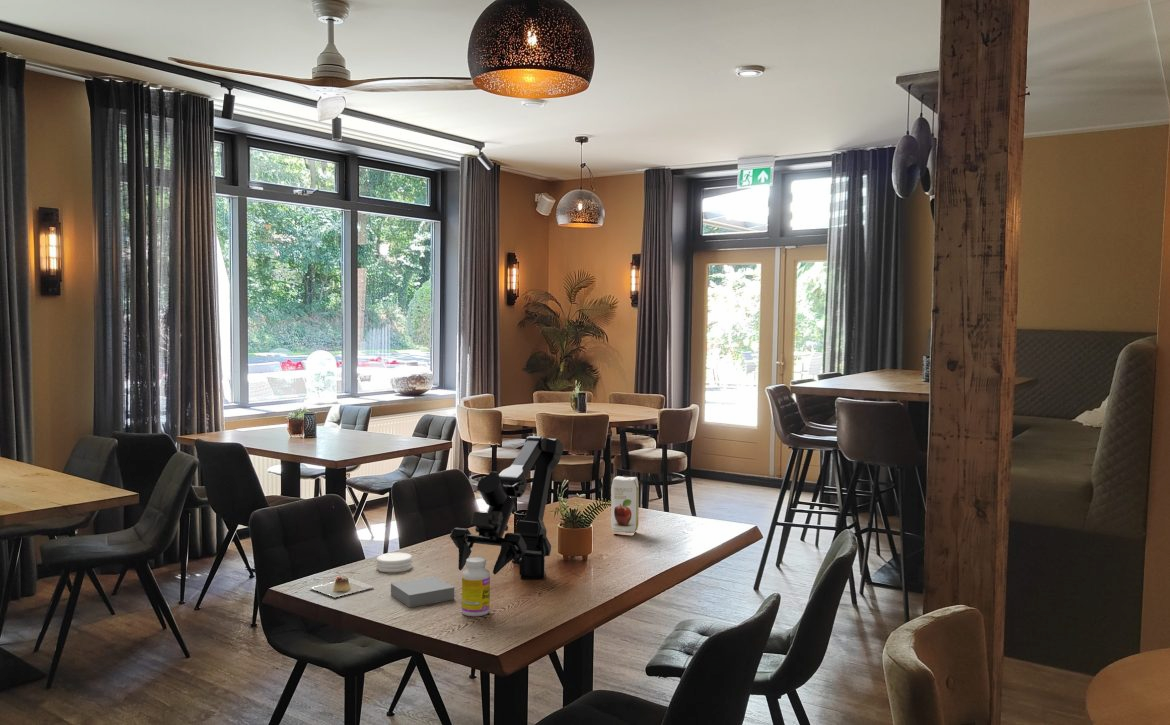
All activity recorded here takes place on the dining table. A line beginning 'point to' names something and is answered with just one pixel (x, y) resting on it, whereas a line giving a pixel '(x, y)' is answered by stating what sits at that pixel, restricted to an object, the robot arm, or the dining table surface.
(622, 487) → the juice carton
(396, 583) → the block
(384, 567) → the coaster
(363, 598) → the dining table surface
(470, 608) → the supplement bottle
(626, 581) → the dining table surface
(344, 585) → the dessert
